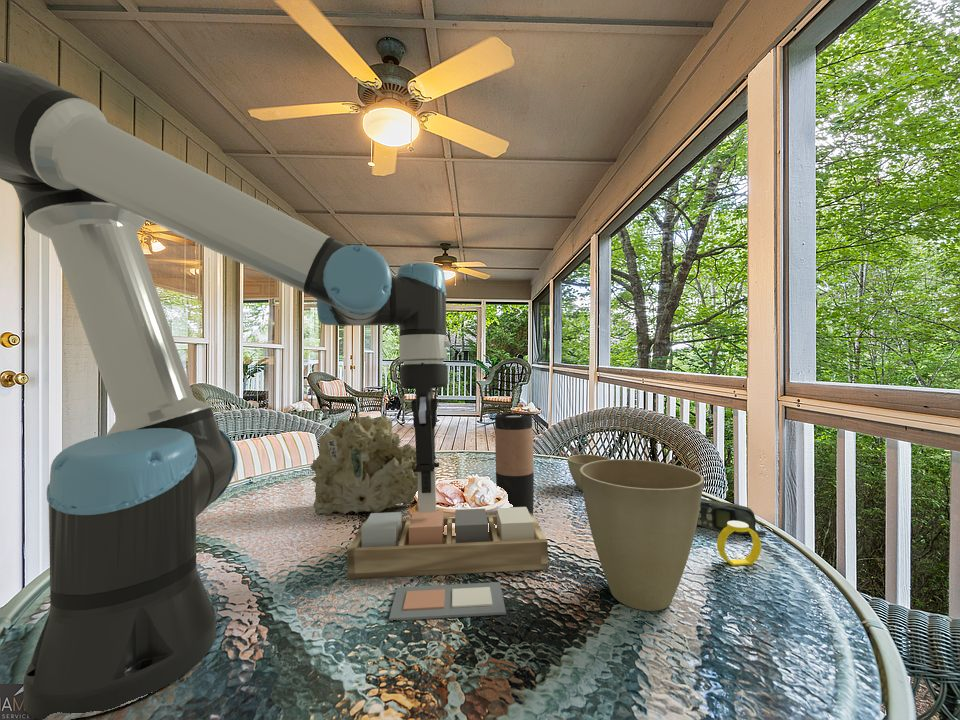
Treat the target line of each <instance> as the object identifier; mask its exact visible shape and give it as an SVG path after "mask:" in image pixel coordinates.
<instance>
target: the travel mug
mask: <svg viewBox="0 0 960 720" xmlns="http://www.w3.org/2000/svg"><path fill="white" fill-rule="evenodd" d="M494 429H495V430H494V433H495V435H494V437H495V438H494V440H495V441H494V443H495V483H496V484H495V486H496V485H497V486H499V487H501V488H503V489H504V490H505V491H506V492H507V494H508V501H509V503H510V504H512V505H513V507H527V509H528V511H529V513H533V514H534V482H535V481H534V480H535V479H534V477H535V475H534V472H535V470H534V466H535V465H534V440H533V439H534V438H533V415H532V414H530V413H525V414H524V415H518V414H517V413H516V412H515V413H514V412H504V413H497V414H495V415H494Z"/></svg>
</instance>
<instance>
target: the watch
mask: <svg viewBox="0 0 960 720" xmlns="http://www.w3.org/2000/svg"><path fill="white" fill-rule="evenodd" d="M734 531H736V532H747V531H749V533H750V534H749V535H750V536H751V540H752V547H751V550H750V552H749V554H748V555H746V557H745V558H742V559H741V558H740V559H729V558H728V555H727V554H726V551H725V550H726V541H727V539H728V537H729V535H731V533H732V532H734ZM716 548H717V551H718V554H719V556H720V557H721V558H722V559H723V560H724V561H726V562H727V563H728V564H729V565H731V566H733V567H736V566H751V565H753V564H754V563H756V562H757V560H758V559H759V557H760V555H761V552H762V543H761V538H760V537H759V535H757V534H756V532H755V531H753V530H752V529H750V528H749V525H748V524H747V523H745V522H741V521H728V522H727V527H725V528H724V529H723V530H722V531H721V532H720V533H719V534H718V536H717V541H716Z"/></svg>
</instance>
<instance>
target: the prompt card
mask: <svg viewBox="0 0 960 720" xmlns="http://www.w3.org/2000/svg"><path fill="white" fill-rule="evenodd" d="M506 610H507V609H506V607H505V601H504V596H503V591H502V586H501V582H500V581H495V582H475V583H457V584H436V585H417V586H416V585H415V586H398V587H396V590H395V594H394V598H393V601H392V606H391V610H390V612H389V617H388V622H394V621H393V620H397V621H398V620H399V621H415V620H430V619H431V620H433V619H447V618H448V619H449V618H467V617H468V618H469V617H484V616H501V615H503V616H504V615H505V616H506V615H507V611H506ZM397 621H396V622H397Z"/></svg>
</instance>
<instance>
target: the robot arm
mask: <svg viewBox="0 0 960 720" xmlns="http://www.w3.org/2000/svg"><path fill="white" fill-rule="evenodd" d="M0 180H2V181H4V182H6V183H7V184H10V185H11V186H12V187H13V189H14V190H15V193H16V194H17V198H18V201H19V204H20V206H21V208H22V212H23V213H24V216H25V219H26V222H27V223H26V224H27V225H28V226H29V227H30V229H31V230H33V231H35V232H37V233H39V234H41V235H42V236H44V237H46V238H49V239H50V240H51V242H52V245H53V248H54V251H55V254H56V256H57V259H58V263H59V265H60V267H61V270H62V273H63V276H64V278H65V282H66V284H67V286H68V289H69V292H70V295H71V297H72V300H73V303H74V305H75V308H76V311H77V315H78V317H79V319H80V323H81V325H82V327H83V330H84V333H85V336H86V338H87V339H86V340H87V342H88V345H89V347H90V349H91V352H92V355H93V358H94V360H95V364H96V365H97V369H98V371H99V374H100V376H101V379H102V382H103V384H104V388H105V390H106V393H107V397H108V399H109V402H110V404H111V407H112V410H113V412H114V415H115V421H114V423H113V424H112V426H111V427H110V429H109V430H108V432H107V433H106V435H98V436H96V437H91V438H88V439H85V440H84V439H83V440H82V441H79V442H76V443H74V444H72V445H70V446H67V447H66V448H65V449H62V450H61V451H60V452H59V453H58V454H57V455H56V456H55V458H54V459H53V460H52V462H51V465H50V474H49V483H48V485H47V487H46V501H47V503H48V534H49V535H48V538H49V539H48V543H49V546H48V547H49V588H50V596H49V597H50V603H49V604H50V605H49V613H48V615H47V617H46V620H45V623H44V626H43V628H42V631H41V632H40V633H41V634H39V635H40V636H39V638H38V641H37V644H36V647H35V649H34V652H33V655H32V657H31V661H30V663H29V665H28V667H27V668H26V672H25V673H24V678H23V694H22V695H23V699H22V700H23V709H24V711H25V713H26V714H27V715H29V716H30V717H31V718H34V719H36V720H42V719H45V718H46V717H47V716H49V715H50V714H53V713H57V712H60V713H61V712H62V713H70V714H71V713H86V712H90V711H92V712H93V711H104V710H108V709H112V708H115V707H117V706H120V705H121V704H124V703H126V702H128V701H131V700H134V699H136V698H138V697H141V696H144V695H146V694H150V693H151V692H154V691H156V690H158V691H159V689H160V690H162V689H164V688H165V687H167V686H169V685H170V684H171V683H173V682H175V681H176V680H178V679H179V678H181V677H182V676H184V675H186V674H187V673H188V672H189V671H190V670H191V669H193V668H194V667H195V666H196V665H197V664H199V662H201V661H202V659H203V658H204V657H206V655H207V654H208V652H210V650H211V648H212V647H213V645H214V642H215V641H216V638H217V637H216V636H217V618H216V612H215V609H214V607H213V605H212V604H211V601H210V599H209V595H208V593H207V591H206V588H205V586H204V584H203V581H202V579H201V577H200V575H199V574H200V573H199V572H198V568H197V518H198V516H199V515H200V514H202V512H204V511H205V510H206V509H207V508H208V507H209V506H210V505H212V504H213V503H214V502H216V501H217V500H218V499H219V498H220V497H221V496H223V494H224V493H225V491H226V490H227V488H228V487H229V486H230V484H231V482H232V479H233V478H234V476H235V473H236V470H237V465H238V453H237V449H236V447H235V444H234V442H233V440H232V439H231V438H230V436H229V435H228V434H227V433H226V432H225V431H223V430H221V429H220V428H219V426H218V424H217V420H216V418H215V415H214V413H213V412H214V411H213V409H212V406H211V404H208V403H206V402H203V401H201V400H199V399H197V398H196V397H195V396H194V394H193V390H192V388H191V385H190V382H189V379H188V376H187V373H186V370H185V368H184V364H183V362H182V359H181V356H180V354H179V352H178V351H179V350H178V347H177V345H176V342H175V340H174V336H173V333H172V331H171V327H170V325H169V322H168V319H167V317H166V316H167V315H166V313H165V310H164V308H163V305H162V302H161V299H160V296H159V293H158V291H157V288H156V285H155V282H154V279H153V276H152V273H151V270H150V268H149V265H148V262H147V259H146V257H145V254H144V250H143V248H142V244H141V242H140V239H139V236H138V232H139V231H140V230H141V229H142V227H143V226H144V225H145V224H146V221H149V222H151V223H153V224H155V225H157V226H159V227H162V228H164V229H166V230H167V231H169V232H172V233H174V234H176V235H179V236H181V237H183V238H185V239H188V240H189V241H192V242H193V243H196V244H198V245H201V246H203V247H204V248H207V249H210V250H211V251H213V252H215V253H218V254H220V255H222V256H224V257H226V258H228V259H230V260H232V261H235V262H237V263H240V264H242V265H244V266H245V267H248V268H250V269H253V270H254V271H257V272H259V273H261V274H262V275H263V274H264V275H266V276H268V277H270V278H272V279H274V280H276V281H278V282H281V283H282V284H285V285H287V286H289V287H291V288H293V289H296V290H297V291H300V292H302V293H303V294H306V295H307V296H310V297H312V298H314V299H316V309H317V310H316V312H317V319H318V321H319V322H320V323H321V324H323V325H324V326H338V327H341V328H342V327H343V328H345V327H348V326H349V327H350V326H360V327H361V326H363V327H364V326H366V327H367V326H389V327H391V326H398V329H399V334H398V335H399V336H398V345H399V349H398V350H399V353H398V354H399V361H400V362H402V363H403V364H401V365H400V367H399V369H400V370H399V372H400V373H399V374H400V377H399V378H400V379H399V380H400V387H401V388H403V389H415V398H413V400H411V403H410V404H411V405H410V406H411V412H412V420H413V422H412V423H413V428H414V439H415V440H414V441H415V448H416V463H417V465H416V467H414V468H413V472H418V501H417V503H418V504H417V505H418V509H417V510H418V511H419V513H431V512H436V511H437V485H436V482H437V481H436V480H437V479H436V468H440V462H436V461H435V460H436V459H437V458H436V447H435V446H436V442H435V440H436V438H435V432H436V431H435V429H436V426H437V417H438V416H437V410H438V407H439V406H438V405H439V404H438V403H439V401H438V398H436V397H434V393H433V389H434V388H435V389H437V388H438V389H439V388H445V387H447V386H448V384H449V371H448V370H449V369H448V367H449V366H448V365H447V363H444V361H446V360H447V359H448V350H447V349H446V348H451V347H452V346H451V345H452V344H451V341H448V340H447V290H446V280H445V279H446V278H445V272H444V270H443V269H442V268H441V267H440V266H439V265H436V264H433V263H429V262H427V263H426V262H416V263H414V262H411V263H409V262H408V263H405V264H402V265H400V266H399V267H398V269H397V274H396V276H392V272H391V268H390V266H389V264H388V262H387V260H386V259H385V258H384V256H383V255H382V254H381V253H379V252H378V251H377V250H375V249H373V248H371V247H369V246H367V245H366V246H365V245H363V244H362V245H360V244H350V245H348V244H346V243H344V242H342V241H339V240H338V239H337V240H336V238H333V237H331V236H330V235H327V234H325V233H324V232H322V231H320V230H318V229H315V228H313V227H312V226H310V225H308V224H306V223H303V221H300V220H298V219H296V218H294V217H293V216H290V215H288V214H287V213H284V212H283V211H280V210H279V209H277V208H275V207H273V206H271V205H269V204H267V203H265V202H263V201H261V200H259V199H257V198H256V197H253V196H251V195H249V194H248V193H245V192H244V191H242V190H240V189H238V188H236V187H234V186H232V185H230V184H229V183H227V182H224V181H222V180H221V179H219V178H216V177H214V176H213V175H210V174H209V173H206V172H204V171H203V170H201V169H199V168H197V167H195V166H194V165H193V166H192V165H191V164H189V163H188V162H185V161H183V160H181V159H179V158H177V157H176V156H174V155H171V154H169V153H167V152H165V151H164V150H162V149H160V148H158V147H156V146H154V145H152V144H150V143H148V142H146V141H144V140H142V139H141V138H139V137H136V136H135V135H133V134H131V133H130V132H126V131H124V129H121V128H119V127H117V126H115V125H113V124H111V123H109V122H108V121H107V118H106V116H105V115H104V113H103V112H102V111H101V109H100V108H99V107H98V106H96V105H95V104H93V103H91V102H90V101H88V100H86V99H84V98H82V97H80V96H79V95H76V94H74V93H72V92H71V91H68V90H67V89H65V88H63V87H61V86H59V85H57V84H56V83H54V82H52V81H50V80H48V79H47V78H44V77H43V76H41V75H39V74H36V73H35V72H32V71H30V70H29V69H28V70H27V68H23V67H21V66H17V65H14V64H12V63H8V62H2V61H0ZM215 637H216V638H215ZM163 687H164V688H163ZM161 688H162V689H161ZM156 692H157V691H156ZM154 693H155V692H154ZM150 695H151V694H150Z"/></svg>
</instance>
